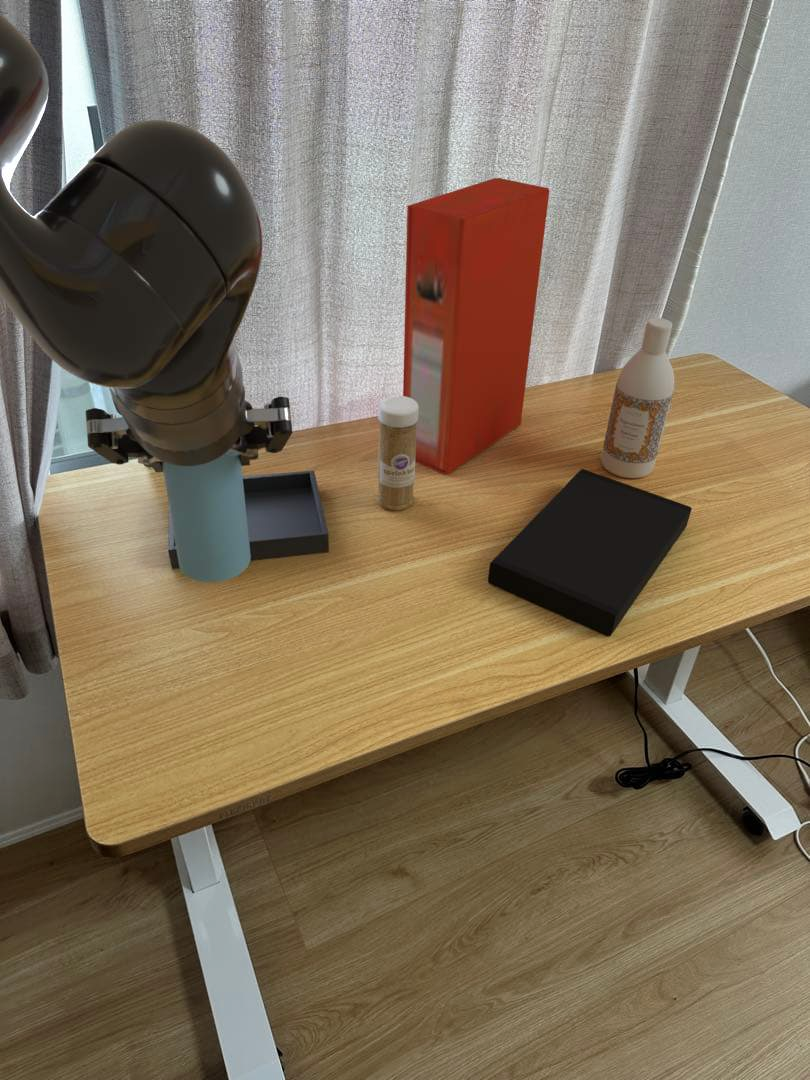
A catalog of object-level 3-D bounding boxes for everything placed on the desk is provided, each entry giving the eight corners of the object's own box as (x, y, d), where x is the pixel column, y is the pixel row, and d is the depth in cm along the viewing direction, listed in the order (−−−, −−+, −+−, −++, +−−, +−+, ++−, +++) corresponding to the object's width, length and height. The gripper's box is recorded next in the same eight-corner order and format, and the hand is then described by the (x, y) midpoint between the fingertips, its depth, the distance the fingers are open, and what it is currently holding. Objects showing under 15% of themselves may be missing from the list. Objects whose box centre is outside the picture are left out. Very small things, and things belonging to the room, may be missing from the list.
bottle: (178, 586, 66) (143, 389, 55) (179, 542, 71) (147, 352, 60) (252, 578, 67) (232, 383, 56) (248, 536, 72) (229, 348, 61)
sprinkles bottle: (387, 515, 97) (389, 416, 88) (370, 496, 100) (371, 398, 91) (420, 506, 98) (426, 408, 90) (403, 487, 101) (407, 390, 93)
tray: (171, 569, 87) (168, 550, 86) (173, 500, 98) (170, 482, 96) (329, 552, 91) (328, 533, 89) (314, 487, 101) (314, 470, 99)
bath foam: (592, 470, 106) (622, 325, 94) (609, 447, 111) (639, 306, 99) (644, 485, 103) (681, 338, 91) (659, 461, 108) (696, 319, 96)
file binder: (399, 454, 108) (407, 204, 88) (473, 408, 119) (495, 176, 99) (448, 476, 104) (467, 219, 84) (520, 426, 115) (552, 189, 95)
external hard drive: (487, 582, 87) (490, 561, 85) (577, 487, 103) (581, 467, 101) (610, 637, 81) (616, 615, 79) (686, 527, 96) (692, 507, 95)
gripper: (294, 324, 50) (287, 406, 67) (49, 335, 48) (105, 417, 64) (306, 441, 49) (296, 494, 66) (58, 459, 47) (112, 510, 63)
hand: (202, 456), depth 65 cm, fingers closed on bottle, 6 cm apart
